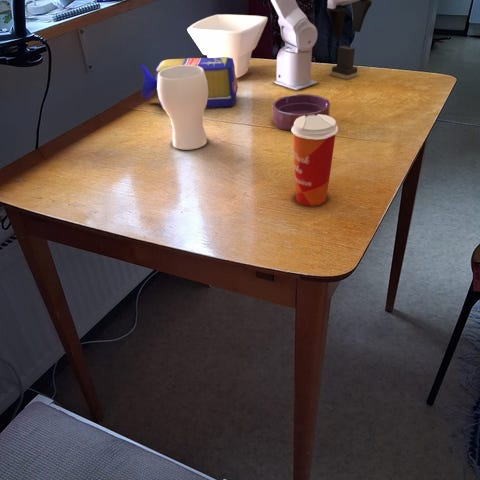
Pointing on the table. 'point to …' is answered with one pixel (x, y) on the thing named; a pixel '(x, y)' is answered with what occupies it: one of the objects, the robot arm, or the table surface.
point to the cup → (184, 103)
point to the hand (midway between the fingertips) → (347, 34)
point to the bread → (216, 73)
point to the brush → (345, 63)
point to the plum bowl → (297, 109)
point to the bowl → (229, 37)
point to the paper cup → (313, 157)
